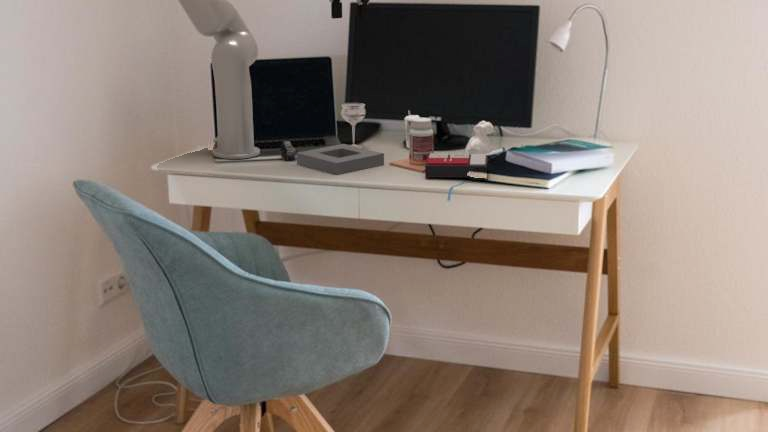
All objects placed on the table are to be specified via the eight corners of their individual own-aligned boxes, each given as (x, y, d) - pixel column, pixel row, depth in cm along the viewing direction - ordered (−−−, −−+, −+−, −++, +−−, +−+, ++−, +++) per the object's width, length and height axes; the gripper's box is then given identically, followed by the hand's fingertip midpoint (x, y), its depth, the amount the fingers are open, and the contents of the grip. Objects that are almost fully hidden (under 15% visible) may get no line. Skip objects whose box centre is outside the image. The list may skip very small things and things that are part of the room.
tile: (389, 164, 250) (389, 162, 249) (422, 157, 257) (422, 155, 257) (422, 172, 241) (422, 170, 241) (455, 165, 249) (455, 162, 249)
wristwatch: (282, 165, 256) (288, 153, 252) (278, 149, 258) (283, 138, 254) (293, 165, 257) (299, 153, 253) (288, 149, 259) (294, 138, 256)
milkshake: (416, 144, 273) (416, 109, 270) (422, 148, 268) (423, 112, 265) (401, 145, 271) (401, 110, 269) (407, 149, 267) (407, 113, 264)
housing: (296, 164, 250) (296, 152, 249) (343, 154, 261) (343, 143, 260) (336, 174, 239) (336, 163, 238) (384, 164, 250) (384, 153, 249)
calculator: (428, 151, 244) (487, 151, 242) (428, 168, 245) (487, 168, 244) (424, 162, 234) (487, 162, 232) (425, 179, 235) (487, 180, 233)
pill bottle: (437, 163, 248) (438, 120, 245) (417, 166, 245) (418, 122, 242) (424, 158, 253) (424, 116, 250) (404, 161, 250) (404, 118, 247)
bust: (473, 171, 251) (500, 140, 247) (451, 153, 252) (478, 120, 247) (482, 161, 262) (509, 131, 258) (461, 143, 263) (487, 112, 258)
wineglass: (336, 147, 270) (336, 104, 267) (356, 143, 274) (355, 101, 271) (351, 151, 265) (350, 107, 262) (370, 147, 269) (370, 105, 266)
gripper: (315, -51, 246) (316, 18, 251) (360, -50, 234) (360, 22, 238) (337, -51, 251) (338, 16, 256) (382, -50, 239) (382, 20, 243)
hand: (349, 19), depth 247 cm, fingers open, 9 cm apart
